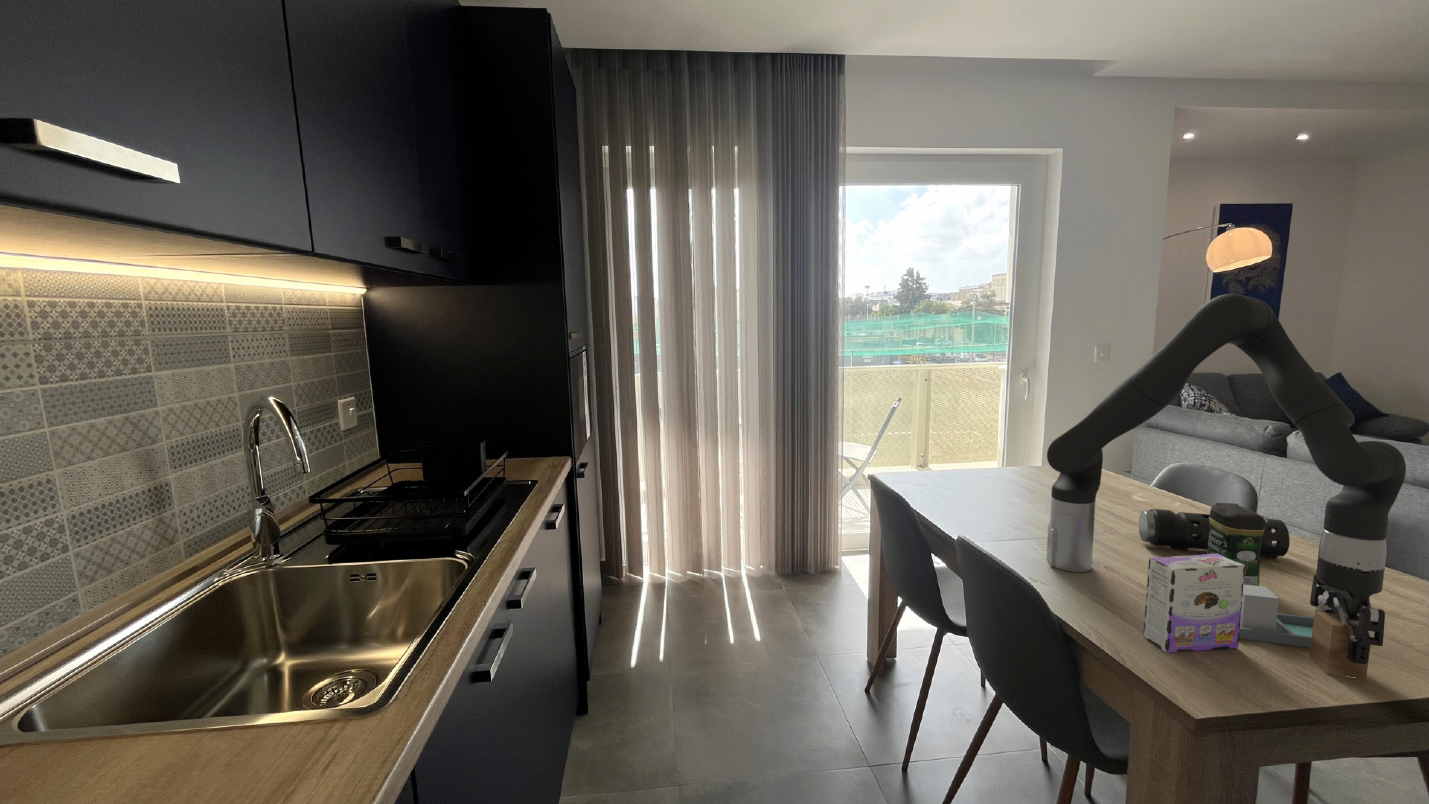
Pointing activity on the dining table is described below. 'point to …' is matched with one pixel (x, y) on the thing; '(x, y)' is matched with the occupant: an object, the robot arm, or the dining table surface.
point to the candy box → (1193, 602)
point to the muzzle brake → (1202, 532)
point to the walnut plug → (1333, 646)
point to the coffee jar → (1237, 537)
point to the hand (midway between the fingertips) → (1340, 648)
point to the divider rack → (1271, 620)
